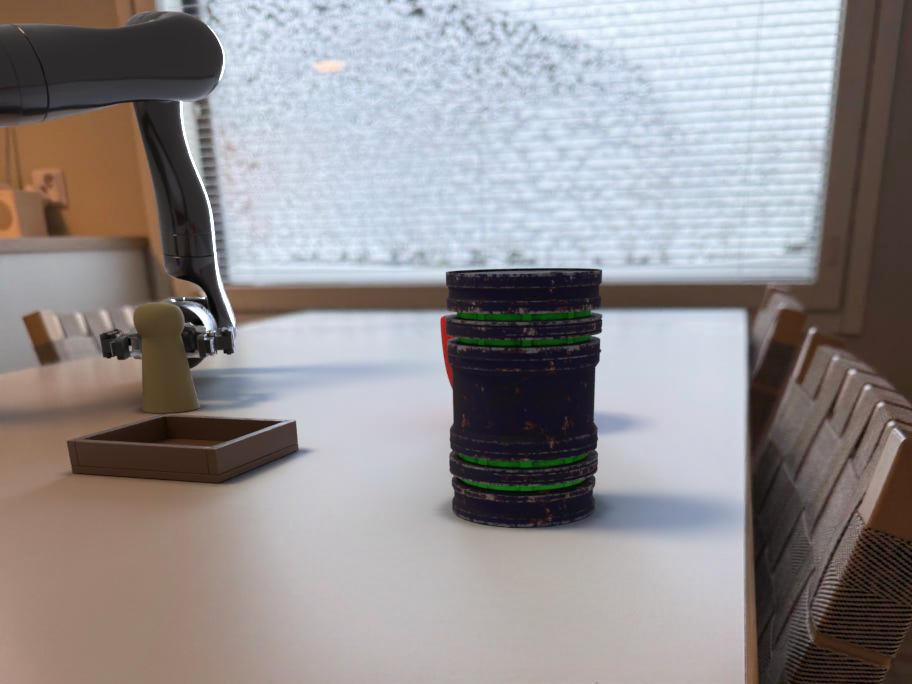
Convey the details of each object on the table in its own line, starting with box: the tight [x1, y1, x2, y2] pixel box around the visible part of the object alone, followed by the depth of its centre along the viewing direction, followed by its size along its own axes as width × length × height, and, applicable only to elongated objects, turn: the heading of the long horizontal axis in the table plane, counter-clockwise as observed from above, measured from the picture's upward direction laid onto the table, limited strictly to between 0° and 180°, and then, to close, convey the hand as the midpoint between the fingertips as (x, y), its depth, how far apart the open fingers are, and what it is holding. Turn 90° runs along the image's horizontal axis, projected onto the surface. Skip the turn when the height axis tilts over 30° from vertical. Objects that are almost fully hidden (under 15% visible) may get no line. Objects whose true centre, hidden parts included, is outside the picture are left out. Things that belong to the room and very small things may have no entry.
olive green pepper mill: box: [132, 302, 200, 414], centre depth 103 cm, size 6×6×11 cm
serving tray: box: [66, 413, 300, 484], centre depth 79 cm, size 14×13×3 cm
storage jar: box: [445, 267, 603, 528], centre depth 62 cm, size 10×10×15 cm
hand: (160, 348), depth 102 cm, fingers open, 8 cm apart
